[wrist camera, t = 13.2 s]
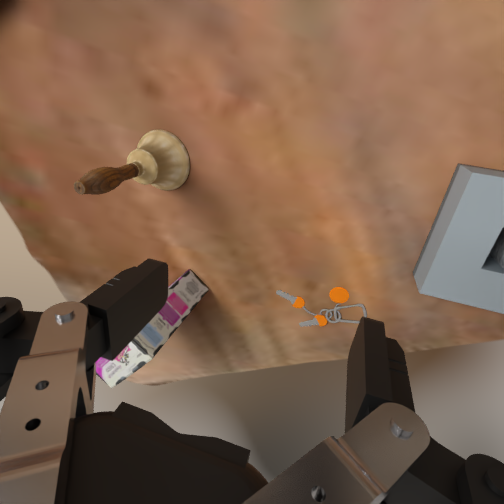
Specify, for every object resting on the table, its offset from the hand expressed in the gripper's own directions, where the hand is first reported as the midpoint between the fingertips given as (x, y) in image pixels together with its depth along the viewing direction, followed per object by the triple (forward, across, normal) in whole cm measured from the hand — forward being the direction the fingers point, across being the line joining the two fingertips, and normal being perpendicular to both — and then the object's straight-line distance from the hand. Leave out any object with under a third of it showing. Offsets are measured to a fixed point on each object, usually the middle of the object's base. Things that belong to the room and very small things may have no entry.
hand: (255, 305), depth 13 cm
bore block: (+30, -21, +4) cm, 37 cm away
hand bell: (+30, +22, +3) cm, 38 cm away
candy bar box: (+30, +19, +25) cm, 44 cm away
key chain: (+31, -4, +20) cm, 37 cm away
